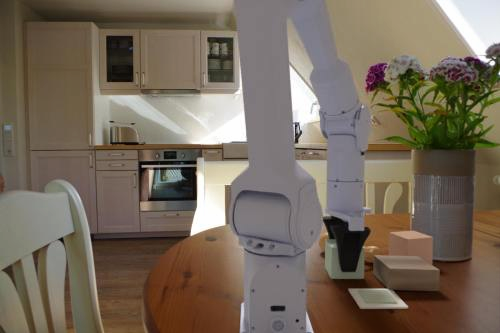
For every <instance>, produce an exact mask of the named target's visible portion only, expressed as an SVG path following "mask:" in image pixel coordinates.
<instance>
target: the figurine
mask: <svg viewBox="0 0 500 333" xmlns="http://www.w3.org/2000/svg"><path fill="white" fill-rule="evenodd" d="M325 239H329V236H328V232H327V231H326V232H324V233H323V234H320V236H319V238H318V247H319V248H320V250H321V251H322V252H323V253H325ZM363 247H364V248H365V253H364V258H365V259H368V260H371V261H372V263H373V262H374V255H381V253H382V250H381V249H380V247H378V246H375V245H373V246H372V245H369V246H365V245H363Z"/></svg>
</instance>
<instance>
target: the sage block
mask: <svg viewBox="0 0 500 333" xmlns="http://www.w3.org/2000/svg"><path fill="white" fill-rule="evenodd" d="M364 247H365V246H364ZM364 247H362V250H361V253H360V257H359V261H358V265H357V269H356V272H342V271H341V268H340V264H339V257H338V249H337V244H336V240H335V239H325V252H324V269H325V270H326V272H327V274H328V276H329V277H330V279H331V280H334V279H335V280H341V279H344V280H362V279H363V280H364V279H365V256H364V253H365V248H364Z"/></svg>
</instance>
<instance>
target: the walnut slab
mask: <svg viewBox="0 0 500 333" xmlns="http://www.w3.org/2000/svg"><path fill="white" fill-rule="evenodd" d="M372 263H373V265H372V266H373V269H372V274H373V276H374V277H375V278H376V279H378V281H380V283H382V285H383V286H385V287H386V289H389V290H393V291H417V292H418V291H422V292H439V291H440V278H441V277H440V274H441V270H440V269H439V268H438V267H436V266H435V265H433V264H432V265H431V264H430V263H428V262H426V261H425V260H423V259H422V258H420V257H418V256H389V255H383V254H382V255H381V254H380V255H374V262H373V261H372Z"/></svg>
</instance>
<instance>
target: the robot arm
mask: <svg viewBox="0 0 500 333" xmlns="http://www.w3.org/2000/svg"><path fill="white" fill-rule="evenodd" d="M233 8H234V14H235V21H236V30H237V32H236V34H237V42H238V54H239V55H238V58H239V67H240V78H241V88H242V90H241V91H242V97H243V98H242V103H243V110H244V111H243V113H244V122H245V123H244V124H245V135H246V146H247V158H248V166H247V167H245V169H243V170H242V171H241V172H240V173H239V174H238V175H237V176H236V177H234V179H233V180H232V181H231V183H230V189H231V191H230V192H231V195H230V196H231V198H230V205H229V208H228V223H229V227H230V230H231V231H232V233H233V234H234V235H235V236H236V237H237V238H238V246H240V247H243V302H242V303H240V323H239V333H315V332H314V330H313V327H312V323H311V321H310V317H309V313H308V312H307V296H308V295H307V292H308V290H307V282H306V280H307V278H306V277H307V275H306V274H307V250H309V249H311V248H312V247H313V246H314V245H315V244H316V242H317V241H318V240H319V239H320V237H321V233H322V228H323V225H324V226H325V229H326V232H328V236H329V239H335V240H336V244H337V249H338V257H339V264H340V268H341V271H342V272H356V269H357V265H358V261H359V257H360V253H361V250H362V247H363V246H365V243H366V241H367V239H369V238H368V237H369V236H370V235H371V231H372V230H371V229H370V227H368V226H365V215H366V214H372V208H370V207H369V206H364V204H365V202H364V201H365V197H364V196H365V165H366V164H365V163H366V162H365V161H366V160H365V159H366V156H365V155H366V154H365V153H366V151H368V148H369V139H370V134H371V131H372V122H373V121H372V113H371V110H370V108H369V106H368V105H367V104H364V103H363V102H362V101H361V100H360V97H359V92H358V90H357V86H356V83H355V81H354V76H353V73H352V70H351V67H350V64H349V62H348V61H347V60H345V59H343V58H341V57H339V55H338V50H337V47H336V42H335V36H334V33H333V27H332V23H331V19H330V15H329V10H328V4H327V1H326V0H233ZM287 19H290V21H291V22H292V25H293V27H294V29H295V31H296V33H297V35H298V37H299V40H300V42H301V44H302V45H303V48H304V49H305V52H306V54H307V56H308V59H309V62H310V63H311V65H312V67H313V68H312V70H311V72H310V74H309V81H310V85H311V86H312V90H313V93H314V94H315V97H316V99H317V102H318V104H319V109H318V116H319V130H320V133H321V134H322V137H323V138H324V139H325V140H326V143H327V144H326V192H325V194H326V195H325V196H326V197H325V198H326V200H325V201H326V204H325V205H326V206H325V207H324V211H323V207H322V204H321V201H320V198H319V195H318V190H317V188H318V187H317V181H316V179H315V178H314V177H313V175H311V174H310V173H309V172H308V171H307V170H306V169H305V168H303V167H302V166H301V165H300V164H299V163H298V162H297V159H296V147H295V146H296V144H295V133H294V132H295V130H294V116H293V114H294V113H293V102H292V101H293V99H292V85H291V84H292V83H291V71H290V66H291V65H290V57H289V56H290V53H289V40H288V39H289V38H288V25H287ZM324 212H325V214H327V216H324ZM328 215H329V216H328Z"/></svg>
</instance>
